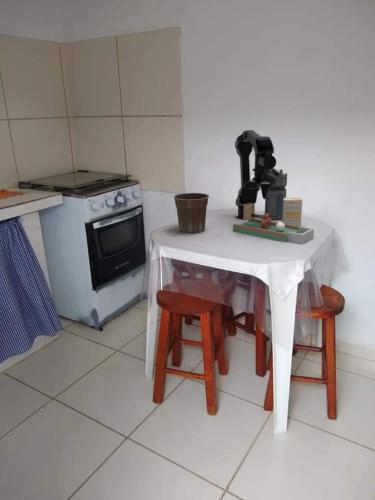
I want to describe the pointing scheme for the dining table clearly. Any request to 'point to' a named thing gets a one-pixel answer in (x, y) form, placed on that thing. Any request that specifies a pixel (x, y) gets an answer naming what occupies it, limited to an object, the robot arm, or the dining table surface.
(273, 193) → the beverage bottle
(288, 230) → the pitch
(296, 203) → the supplement box
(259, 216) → the foosball rod
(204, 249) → the dining table surface
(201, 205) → the plant pot
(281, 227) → the ball
